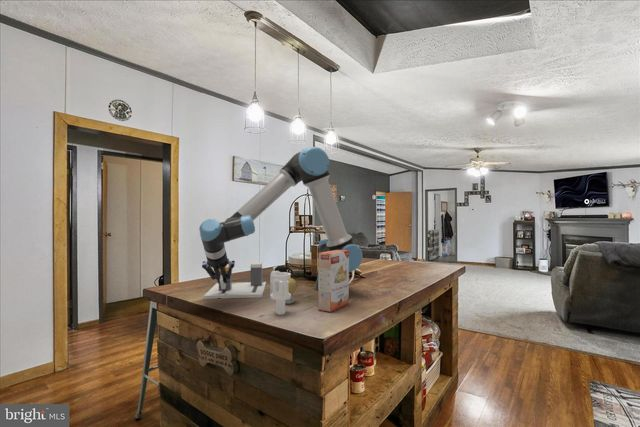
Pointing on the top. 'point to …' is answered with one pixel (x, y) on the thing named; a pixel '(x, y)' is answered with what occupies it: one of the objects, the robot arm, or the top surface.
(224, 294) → the plate
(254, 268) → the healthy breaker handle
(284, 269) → the medicine bottle
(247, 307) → the top surface
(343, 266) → the cracker box
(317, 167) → the robot arm
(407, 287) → the top surface
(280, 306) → the white stepped cylinder
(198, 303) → the top surface
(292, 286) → the light bulb
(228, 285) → the block
